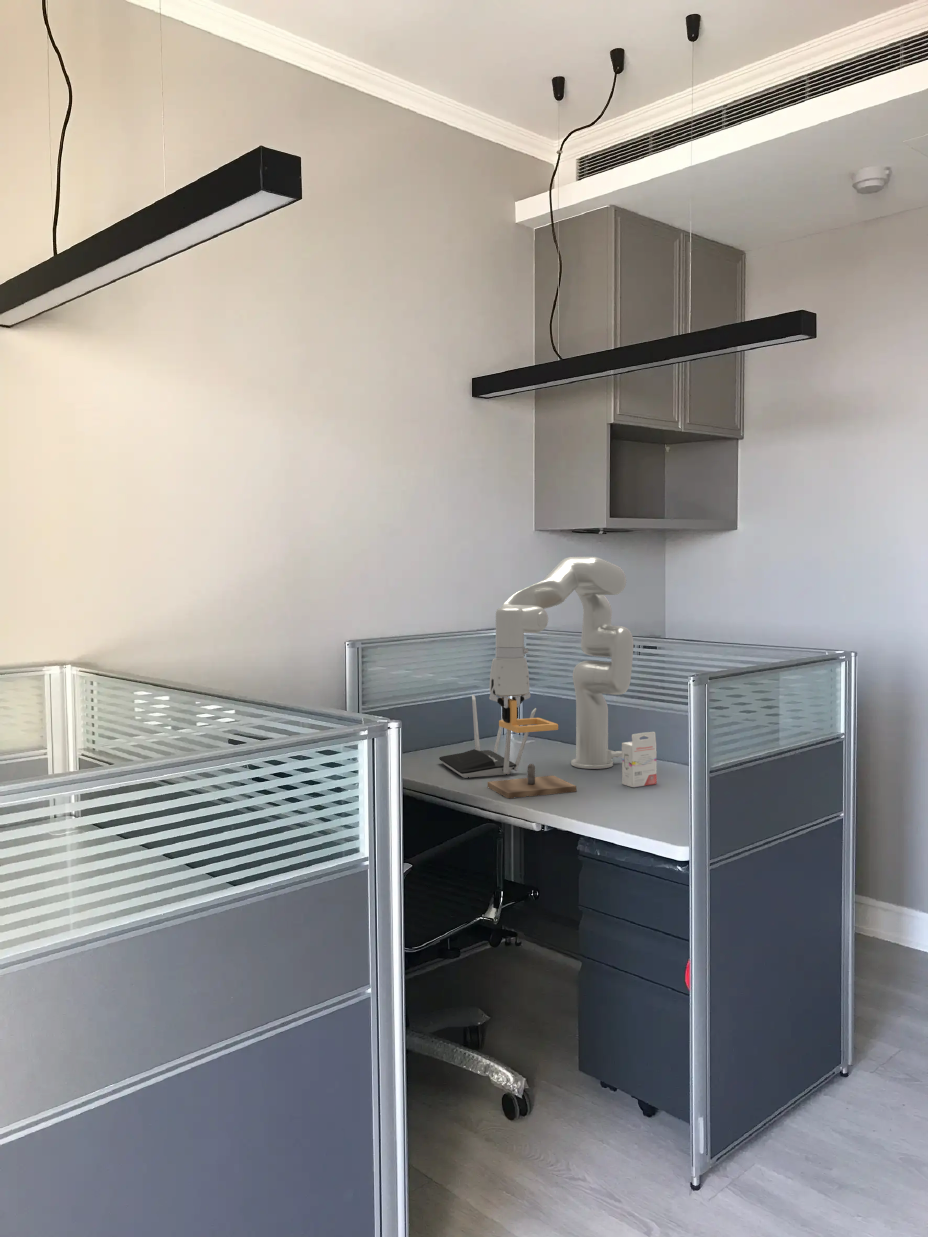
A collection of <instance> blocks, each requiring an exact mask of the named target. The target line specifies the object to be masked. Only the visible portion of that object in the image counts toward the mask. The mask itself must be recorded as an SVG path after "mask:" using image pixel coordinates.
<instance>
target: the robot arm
mask: <svg viewBox="0 0 928 1237" xmlns="http://www.w3.org/2000/svg"><path fill="white" fill-rule="evenodd" d="M626 586H627V576H626V573H625V572H624V570H623V569H622V567H620V566H619V565H616V564H614V563H612V562H610V561H608V560H605V559H604V558H603V559H602V558H600V557H598V556H569V557H565V558H563V559H562V560H560V561H559V562H558V563H557V565H556V566H555V567H553V569H552V570H551V571H550V572H549V573H548V574H547V575H546V576H545V577H544V578H543V579H542V580H541V581H539V582H538V581H537V582H536V583H534V584H531V585H529V586H526V587H525V588H522V589H521V590H519V591H517V592H515V593H513V594H512V595H511V596H509V597H508V599H507V600H506V601H505V602H504V603H503V604H502V605H501V606H500V607H498V608H497V609H496V611H495V658H492V662H491V667H490V673H489V693H490V694H489V697H488V699H489V700H491V701H493V702H496V703H498V704H499V705H500V707H501V717H502V719H503V721H504V722H506V723H510V708H509V706H508V698H509V697H511V699H513V700H516V701H517V719H519V708H520V707H521V704H522V703H523V702H524V701H526V700H528V699H530V698H531V696H532V695H531V693H530V674H529V672H530V671H529V666H528V661H527V658H526V657H525V655H526V654H529V648H526V646H525V637H524V636H525V634H538V633H540V632H543V631H544V630H545V628H547V626H548V622H549V615H548V612H547V610H545V609H549V608H553V607H556V606H559V605H561V604H563V603H564V602H565V601H566V599H567V598H568V597H569V596H570V595H571V594H572V593H573V592H575V593H576V594H577V596H578V597H579V600H580V602H581V604H582V610H583V614H582V628H581V639H580V647H581V651H582V653H584V654H585V655H587V656H591V657H600V658H610V659H611V661H601V660H583V661H581V662H579V663H577V664H576V665H575V666H574V668H573V671H572V682H573V687H574V692H575V708H576V709H575V714H576V715H575V723H576V724H575V729H576V730H575V732H576V733H575V734H576V736H575V746H576V748H575V754H576V755H575V758H573V759H571V762H570V764H571V766H572V767H575V768H579V769H587V770H603V769H608V768H611V767H613V766H614V761H613V760H614V758H622V750H615V751H614V750H612V749H609V707H608V703H607V701H606V699H605V697H604V695H615V696H618V695H624V694H625V693H626V692H627V691H628V690H629V687H630V685H631V678H632V670H633V669H632V668H633V659H634V658H633V657H634V637H633V634H632V632H631V630H630V629H629V628H627V627H625V626H621V625H612V613H613V611H612V606H611V603H610V602H609V600H608V598H607V597H606V595H607V596H615V595H618V594H621V593H623V591H624V589H625V588H626ZM612 759H613V760H612Z"/></svg>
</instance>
